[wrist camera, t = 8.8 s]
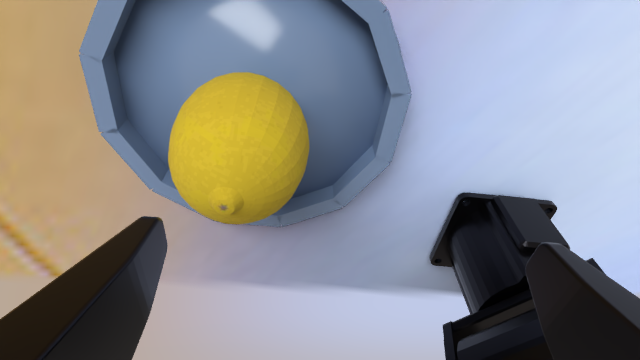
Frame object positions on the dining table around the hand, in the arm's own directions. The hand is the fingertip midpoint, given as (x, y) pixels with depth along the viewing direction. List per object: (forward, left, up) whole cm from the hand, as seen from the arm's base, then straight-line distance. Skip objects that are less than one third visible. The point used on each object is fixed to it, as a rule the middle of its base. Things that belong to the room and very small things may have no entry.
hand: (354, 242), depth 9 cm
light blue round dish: (-2, +4, -12) cm, 13 cm away
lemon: (-2, +4, -11) cm, 12 cm away
